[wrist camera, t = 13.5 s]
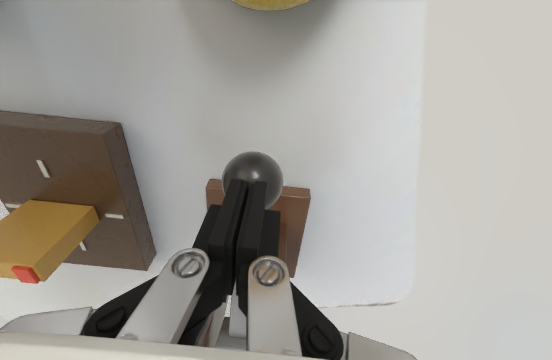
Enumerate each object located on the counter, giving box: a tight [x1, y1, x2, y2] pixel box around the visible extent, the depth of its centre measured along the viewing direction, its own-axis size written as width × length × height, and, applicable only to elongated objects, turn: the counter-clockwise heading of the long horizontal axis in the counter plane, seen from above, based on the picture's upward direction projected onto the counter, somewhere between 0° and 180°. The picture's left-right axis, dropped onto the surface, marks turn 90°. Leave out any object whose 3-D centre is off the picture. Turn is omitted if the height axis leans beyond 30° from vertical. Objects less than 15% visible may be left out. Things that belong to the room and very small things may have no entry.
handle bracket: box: [201, 179, 311, 348], centre depth 18 cm, size 10×8×12 cm
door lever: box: [215, 152, 283, 351], centre depth 14 cm, size 13×3×3 cm, turn 175°
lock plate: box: [0, 111, 156, 271], centre depth 21 cm, size 14×10×2 cm
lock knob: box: [0, 200, 100, 284], centre depth 17 cm, size 5×2×6 cm, turn 85°
